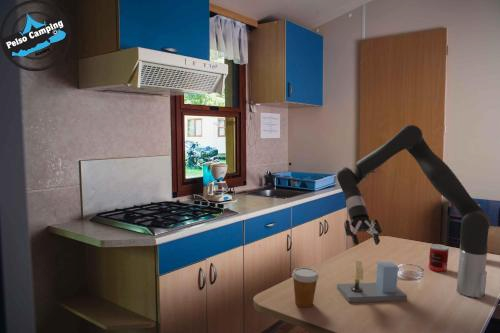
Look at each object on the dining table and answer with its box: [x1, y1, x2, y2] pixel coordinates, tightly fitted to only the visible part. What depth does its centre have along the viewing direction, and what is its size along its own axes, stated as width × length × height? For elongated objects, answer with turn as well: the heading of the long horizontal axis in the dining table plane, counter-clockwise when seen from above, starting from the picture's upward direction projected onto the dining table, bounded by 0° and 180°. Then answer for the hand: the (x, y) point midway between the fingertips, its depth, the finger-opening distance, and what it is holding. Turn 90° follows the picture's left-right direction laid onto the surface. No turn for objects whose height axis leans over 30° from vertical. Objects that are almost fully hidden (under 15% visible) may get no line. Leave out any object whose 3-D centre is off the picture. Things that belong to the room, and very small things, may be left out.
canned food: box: [428, 243, 449, 273], centre depth 180 cm, size 8×8×11 cm
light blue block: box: [375, 261, 399, 292], centre depth 152 cm, size 6×6×10 cm
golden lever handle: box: [353, 260, 364, 289], centre depth 146 cm, size 11×2×11 cm, turn 168°
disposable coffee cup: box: [291, 267, 320, 308], centre depth 142 cm, size 10×10×12 cm
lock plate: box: [336, 282, 408, 303], centre depth 152 cm, size 23×12×4 cm, turn 97°
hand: (367, 244), depth 154 cm, fingers open, 8 cm apart
